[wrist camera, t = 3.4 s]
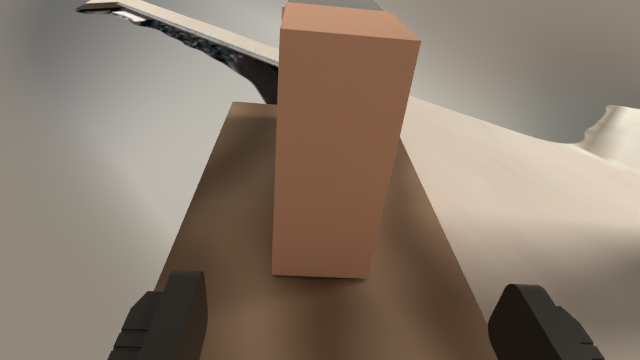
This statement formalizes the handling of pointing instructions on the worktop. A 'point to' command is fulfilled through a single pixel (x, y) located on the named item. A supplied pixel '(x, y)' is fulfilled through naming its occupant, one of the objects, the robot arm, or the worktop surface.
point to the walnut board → (319, 292)
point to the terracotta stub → (336, 135)
